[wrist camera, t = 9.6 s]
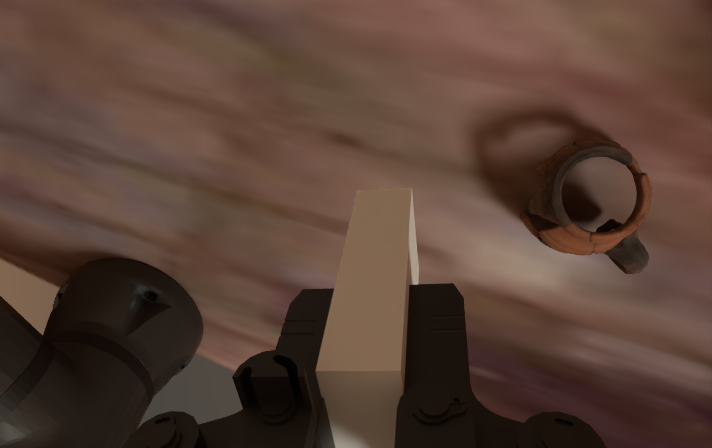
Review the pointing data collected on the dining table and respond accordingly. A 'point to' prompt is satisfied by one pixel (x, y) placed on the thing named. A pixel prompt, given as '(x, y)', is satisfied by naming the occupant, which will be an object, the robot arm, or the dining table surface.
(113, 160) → the dining table surface
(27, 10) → the dining table surface
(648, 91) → the dining table surface
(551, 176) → the pottery mug
